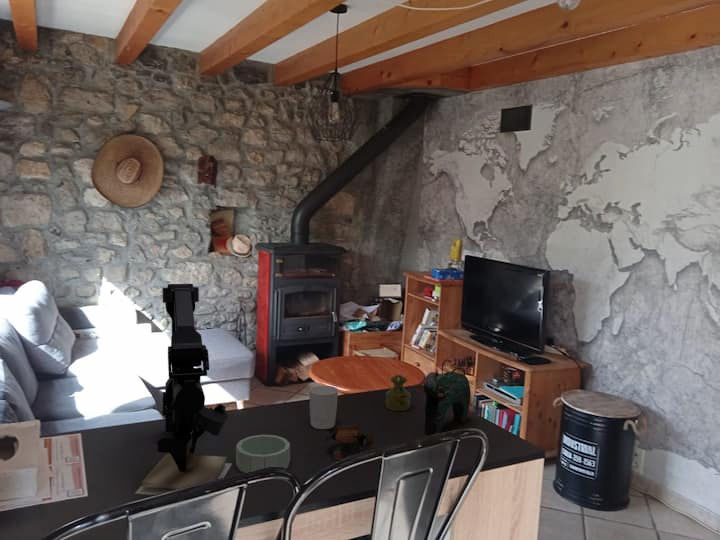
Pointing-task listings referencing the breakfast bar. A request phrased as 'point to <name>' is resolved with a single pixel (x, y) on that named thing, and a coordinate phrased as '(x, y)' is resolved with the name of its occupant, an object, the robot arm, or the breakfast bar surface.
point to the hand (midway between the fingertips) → (186, 467)
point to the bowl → (262, 453)
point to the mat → (161, 490)
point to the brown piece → (349, 441)
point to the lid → (195, 473)
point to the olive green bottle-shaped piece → (398, 395)
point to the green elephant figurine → (445, 398)
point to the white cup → (323, 406)
